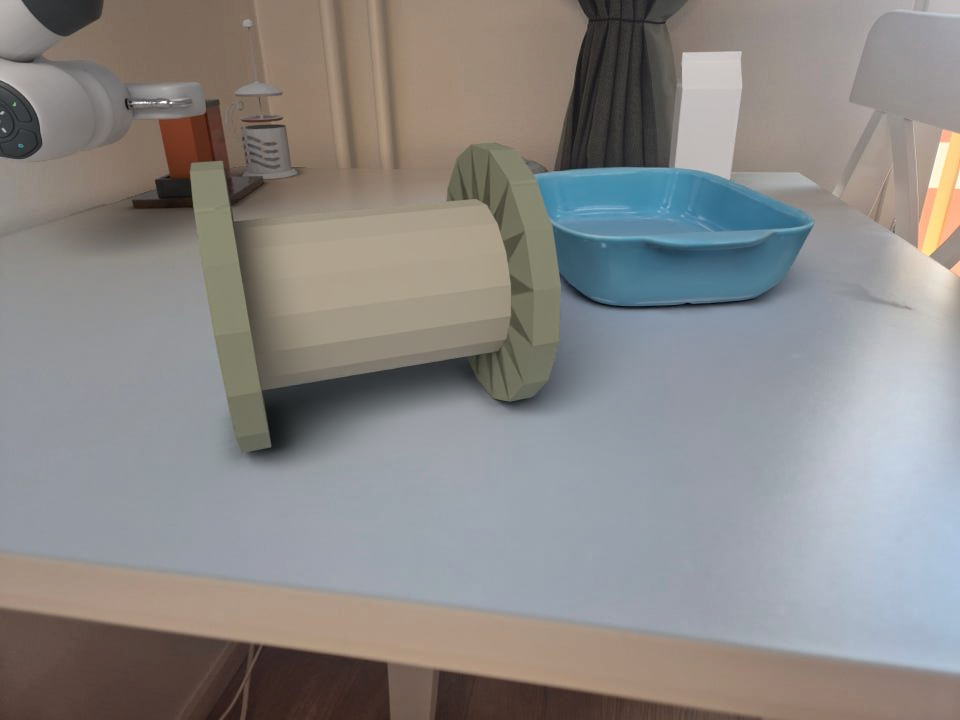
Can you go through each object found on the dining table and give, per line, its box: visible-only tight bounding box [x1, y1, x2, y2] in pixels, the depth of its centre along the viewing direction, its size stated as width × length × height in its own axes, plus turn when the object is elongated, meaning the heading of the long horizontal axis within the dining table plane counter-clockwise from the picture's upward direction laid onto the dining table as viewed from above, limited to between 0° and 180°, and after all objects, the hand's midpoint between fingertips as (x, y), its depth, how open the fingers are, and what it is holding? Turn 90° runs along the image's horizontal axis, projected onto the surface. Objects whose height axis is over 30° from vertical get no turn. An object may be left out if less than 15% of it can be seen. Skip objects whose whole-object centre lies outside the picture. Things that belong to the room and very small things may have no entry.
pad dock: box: [131, 98, 265, 209], centre depth 103 cm, size 14×18×13 cm
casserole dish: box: [534, 166, 815, 307], centre depth 67 cm, size 37×22×7 cm, turn 5°
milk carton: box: [668, 50, 743, 180], centre depth 88 cm, size 7×7×19 cm
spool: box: [190, 142, 562, 454], centre depth 39 cm, size 16×15×15 cm
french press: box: [224, 18, 299, 180], centre depth 117 cm, size 10×12×25 cm
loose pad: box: [158, 114, 213, 178], centre depth 100 cm, size 5×6×12 cm
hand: (139, 96), depth 86 cm, fingers open, 8 cm apart
